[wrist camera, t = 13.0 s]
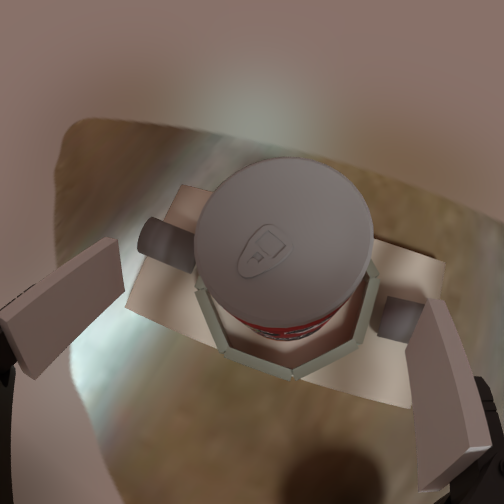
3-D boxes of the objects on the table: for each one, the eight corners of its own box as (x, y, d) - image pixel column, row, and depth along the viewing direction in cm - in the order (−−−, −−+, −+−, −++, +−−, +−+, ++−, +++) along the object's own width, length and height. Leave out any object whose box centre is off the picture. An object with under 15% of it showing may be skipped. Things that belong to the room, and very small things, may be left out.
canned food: (217, 313, 23) (159, 273, 13) (267, 224, 25) (249, 134, 15) (309, 361, 21) (325, 362, 11) (355, 265, 23) (397, 193, 13)
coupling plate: (440, 264, 23) (465, 244, 19) (403, 410, 20) (426, 419, 15) (187, 188, 29) (170, 159, 24) (129, 313, 25) (100, 302, 21)
